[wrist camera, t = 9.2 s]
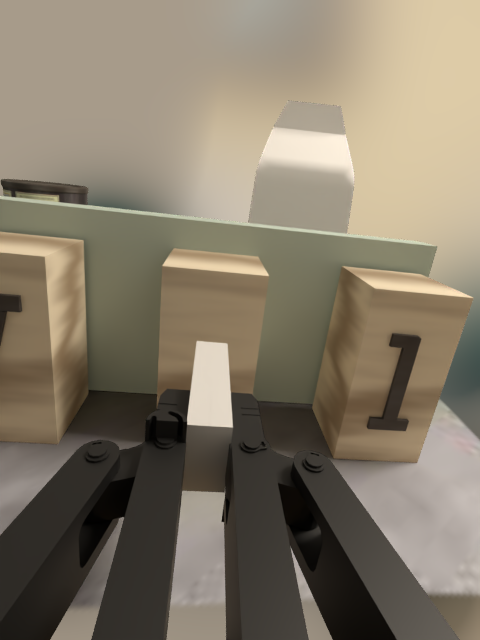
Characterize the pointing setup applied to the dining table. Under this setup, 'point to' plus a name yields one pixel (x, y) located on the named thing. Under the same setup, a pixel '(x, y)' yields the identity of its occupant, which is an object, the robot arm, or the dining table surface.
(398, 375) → the numbered block 1
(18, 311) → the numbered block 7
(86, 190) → the coffee can
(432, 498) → the dining table surface
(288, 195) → the milk
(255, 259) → the plain block
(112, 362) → the rack board
